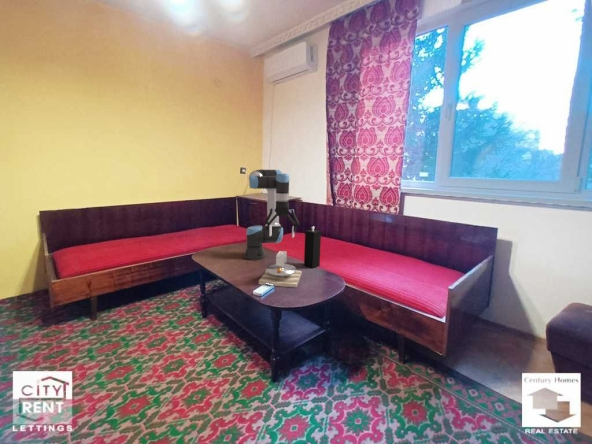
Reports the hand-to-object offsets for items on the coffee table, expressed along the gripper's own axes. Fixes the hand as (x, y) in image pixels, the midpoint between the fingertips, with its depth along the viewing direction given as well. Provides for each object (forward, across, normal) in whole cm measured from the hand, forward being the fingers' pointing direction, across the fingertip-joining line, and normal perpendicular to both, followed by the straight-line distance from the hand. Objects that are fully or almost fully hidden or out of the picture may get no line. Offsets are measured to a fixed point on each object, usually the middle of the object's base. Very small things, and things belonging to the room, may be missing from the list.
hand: (281, 236), depth 172 cm
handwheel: (+21, 0, 0) cm, 21 cm away
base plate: (+26, 0, 0) cm, 27 cm away
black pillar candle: (+27, +16, +28) cm, 42 cm away
